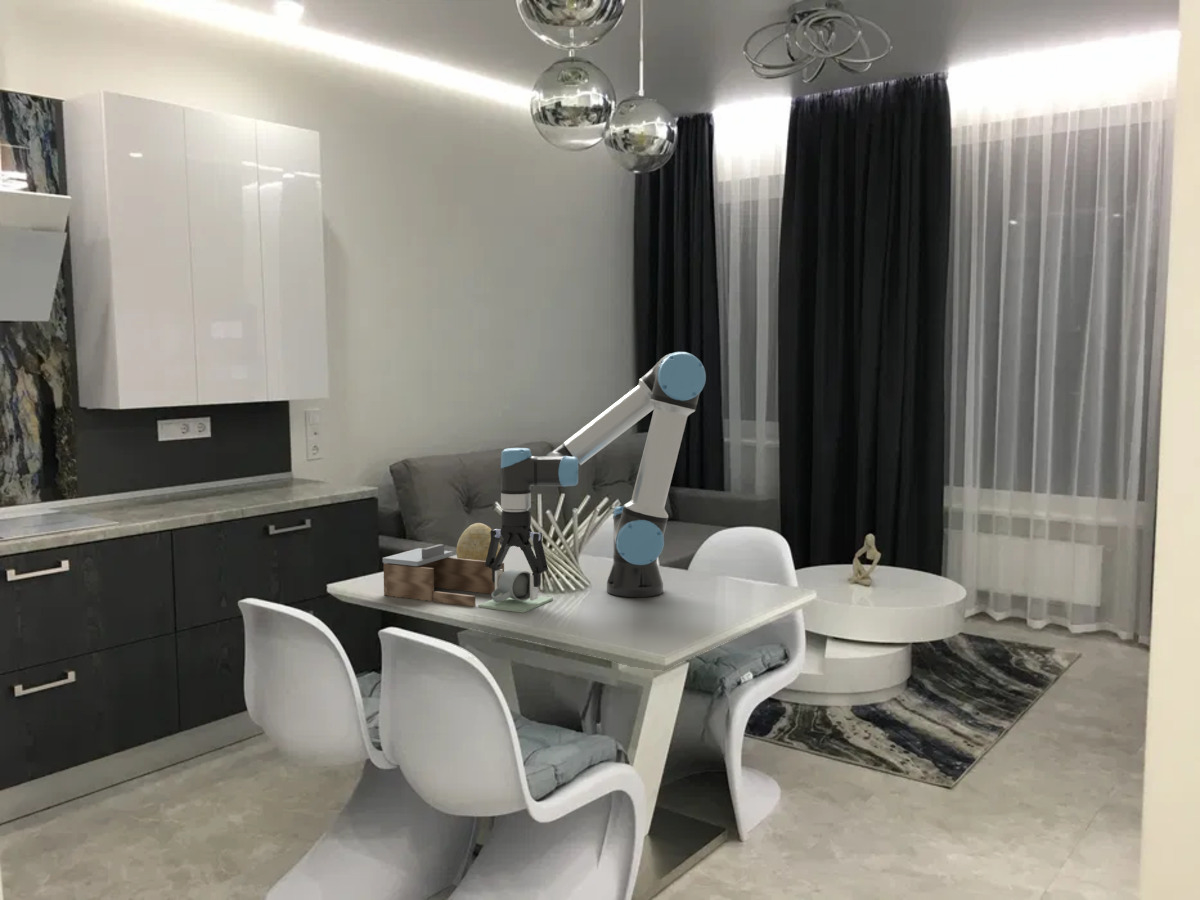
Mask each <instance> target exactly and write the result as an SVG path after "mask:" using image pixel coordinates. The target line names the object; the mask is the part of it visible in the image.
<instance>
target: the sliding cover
mask: <svg viewBox="0 0 1200 900" xmlns="http://www.w3.org/2000/svg"><path fill="white" fill-rule="evenodd" d="M453 554H454V553H453V551H452V550H445V544H442V543H438V544H436V545H432V546H428V547H425V548H421V547H418V548H413V549H411V550H407V551H403V552H400V553H396V554H392V555H389V556H385V557H382V563H383V564H384V563H391V564H401V565H410V566H420V565H424V564H427V563H430V562H434V561H437V560H440V559H444V558H447V557H453Z"/></svg>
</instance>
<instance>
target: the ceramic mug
mask: <svg viewBox="0 0 1200 900" xmlns="http://www.w3.org/2000/svg"><path fill="white" fill-rule="evenodd" d="M530 574H532V573H531V572H529V571H526V570H518V569H507V570H504V572H503V573H502V574H501V575H500V576H499V579H498V588H497V589H496V590H495V591H493V592H492V594H490V595H491V598H492V599H493V600H494V601H495V602H500V601H503V600H506V599H508V598H509V597H510V598H512V599H515V600H518V601H525V600H528V599H529V598H530ZM499 593H502V594H503V595H500V596H497V595H498V594H499Z"/></svg>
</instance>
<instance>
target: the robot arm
mask: <svg viewBox="0 0 1200 900" xmlns="http://www.w3.org/2000/svg"><path fill="white" fill-rule="evenodd" d="M706 374H707V373H706V370H705V367H704V365H703V363H702V361H701V360H700V359H699V358H697V356H695V355H694V354H692V353H689V352H687V351H681V350H680V351H675V352H672V353H668V354H666V355H664V356H662V358H660V359H659V361H657V362H656V363H655V365H653V367H652V368H651V369H649V371H647V372H646V373H645V374H644V375H643V376H641V378H639V380H638V384H637V386H635V387H634V388H632V389H631V390H630V391H628V392H627V393H626V394H624V395H623V396H622V397H620V399H618V400H617V401H616V402H614V403H613V404H612V405H611V406H609V407H608V408H606V409H605V410H603V412H602V413H600V414H599V415H597V416H596V417H595V418H594V419H592V420H591V421H589V422H588V423H587V424H586V425H584V426H583V427H582V428H580V429H579V430H578V431H576V433H574V434H572V436H570V437H569V438H567V439H566V440H565V441H564V442H563V443H561V444H560V445H559V446H558V447H556V448H554V449H553V450H552V451H549V452H548V453H547V454H546V455H545V456H544V455H543V456H537V455H536V456H535V455H532V452H531V448H527V447H508V448H504V449H503V450H502V451H501V455H500V458H501V459H500V509H502V510H501V512H500V523H501V528H500V529H499V528H495V529H492V530H491V531H490V534H491V541H490V545H489V550H488V554H487V558H486V563H485V566H486V567H489V568H491V569H492V581H493V582H495V590H496V589H497V588H498V579H499V576H500V575H501V574H502V573H503V569H499V568H501V564H502V563H504V560H505V559H506V556H507V554H508V552H509V550H510V548H511V547H516V548H520V551H522V552H523V554H524V557H525V559H526V561H527V563H528V565H529V567H530V570H531V572H532V573H531V574H530V600H532V601H533V600H535V599H538V596H539V587H541V585H542V582H541V581H542V577H541V576H542V573H545V572H547V571H548V570H549V567H548V563H547V558H546V554H545V550H544V545H543V533H542V532H540V531H539V532H534V531H532V528H531V525H532V511H531V510H530V509H531V508H532V487H539V486H540V487H563V488H566V487H575V486H577V485H578V484H579V467H580V466H582V465H583V464H584V463H585V462H587V461H588V460H589V459H591V458H592V457H593V456H595V455H596V454H597V453H599V452H600V451H601V450H602V449H604V448H605V447H607V446H608V445H609V444H610V443H612V442H613V441H614V440H616V439H618V437H620V436H621V435H622V434H623V433H625V432H626V431H627V430H629V429H630V428H631V427H632V426H634V425H635V424H637V422H639V421H641V420H642V419H643V418H644V417H646V416H647V415H648V414H649V413H651V412H652V411H653V412H652V416H651V420H650V424H649V427H648V432H647V436H646V440H645V445H644V449H643V451H642V452H643V453H642V455H641V456H642V457H641V460H640V464H639V468H638V472H637V475H636V480H635V484H634V488H633V492H632V495H631V499H630V500H629V501H628V502H626V503H625V504H623V506H615V507H614V509H613V515H612V519H613V543H612V545H613V547H612V548H613V552H612V555H613V559H612V560H613V562H612V566H611V568H610V572H609V574H608V578H607V581H606V592H607V593H608V594H610V595H614V596H618V597H625V598H645V597H646V598H647V597H648V598H649V597H655V596H658V595H661V594H662V593H663V592H664V582H663V579H662V578H663V577H662V576H661V572H660V570H659V566H658V558H659V557H660V556H661V554H662V552H663V549H664V546H665V537H664V535H665V531H666V528H667V524H668V520H669V514H668V512H667V510H666V509H665V506H666V503H667V499H668V495H669V491H670V486H671V483H672V480H673V476H674V475H673V474H674V471H675V468H676V463H677V460H678V455H679V451H680V448H681V443H682V440H683V437H684V436H683V435H684V432H685V428H686V424H687V420H688V417H689V416H690V415H691V414H692V413H694V412H696V409H697V406H698V401H699V396H700V394H701V392H702V391H703V390H704V387H705V384H706V381H707V379H706V378H707V375H706ZM501 537H502V539H503V541H502V542H501V543H500V546H501V548H500V550H499V552H498V554H497V556H496V553H497V549H498V545H499V542H500V539H501ZM530 538H531V541H532V544H531V541H530ZM532 546H533V548H532ZM533 549H534V551H533ZM500 595H502V593H499V594H498V595H497V596H500ZM497 596H496V597H497Z"/></svg>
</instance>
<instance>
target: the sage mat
mask: <svg viewBox="0 0 1200 900" xmlns="http://www.w3.org/2000/svg"><path fill="white" fill-rule="evenodd" d="M553 600H554V599H553V597H549V596H548V597H547V596H541V595H538V599H535V600H533V601H532V600H530V598H529V599H528V600H525V601H518V600H515V599H512V598H510V597H509V598H508V599H506V600H503V601H500V602H495V601H494V600H493V598H492V599H489V600H487V601H485V602H483V603H479V604H478V605H477V606H478V608H483V609H490V610H491V609H492V610H499V611H505V612H506V611H507V612H515V613H521V614H522V613H523V614H524V613H526V612H529V611H531V610H534V609H535V608H538V607H540V606H542V605H545V604H547V603H549V602H552V601H553Z"/></svg>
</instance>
